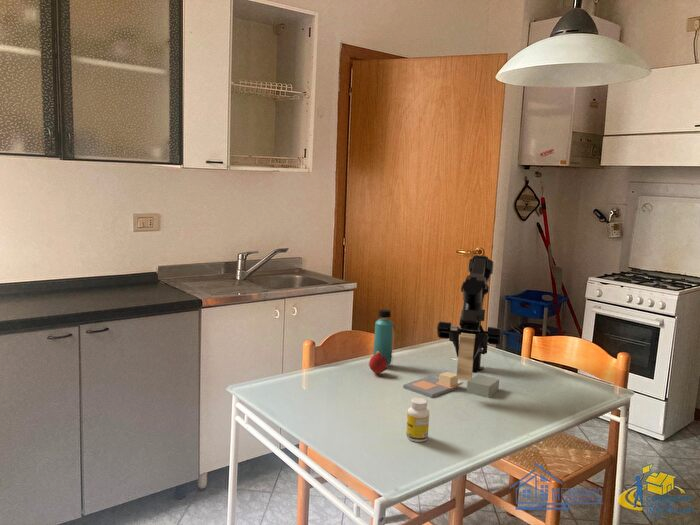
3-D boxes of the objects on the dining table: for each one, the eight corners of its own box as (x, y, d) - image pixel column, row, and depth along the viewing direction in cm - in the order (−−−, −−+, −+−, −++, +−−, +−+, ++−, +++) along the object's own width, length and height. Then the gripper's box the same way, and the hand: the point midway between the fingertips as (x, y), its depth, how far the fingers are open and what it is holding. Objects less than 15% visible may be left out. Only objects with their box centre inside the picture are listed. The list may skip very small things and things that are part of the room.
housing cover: (477, 384, 189) (478, 374, 188) (498, 389, 185) (499, 379, 185) (466, 392, 181) (467, 381, 181) (488, 397, 178) (489, 386, 177)
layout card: (444, 377, 195) (444, 375, 195) (462, 382, 190) (462, 381, 190) (435, 380, 191) (435, 378, 191) (453, 385, 187) (453, 384, 187)
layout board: (431, 378, 193) (432, 366, 193) (461, 387, 185) (462, 375, 185) (403, 387, 182) (404, 375, 182) (433, 398, 175) (434, 385, 174)
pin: (457, 374, 176) (461, 332, 174) (472, 376, 175) (475, 334, 173) (456, 378, 172) (459, 336, 170) (470, 380, 171) (474, 337, 169)
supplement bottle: (404, 433, 149) (406, 396, 147) (425, 433, 149) (427, 396, 148) (408, 442, 143) (410, 404, 142) (429, 442, 144) (432, 404, 143)
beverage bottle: (391, 369, 200) (395, 312, 197) (372, 368, 200) (375, 311, 197) (390, 364, 206) (394, 308, 204) (372, 363, 206) (375, 307, 204)
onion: (386, 372, 196) (387, 349, 195) (385, 378, 191) (387, 354, 190) (369, 371, 197) (370, 348, 196) (367, 376, 191) (369, 353, 190)
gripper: (440, 295, 177) (432, 339, 168) (503, 301, 172) (499, 347, 163) (441, 315, 185) (434, 358, 176) (502, 322, 180) (497, 366, 171)
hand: (465, 357), depth 171 cm, fingers closed on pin, 4 cm apart
